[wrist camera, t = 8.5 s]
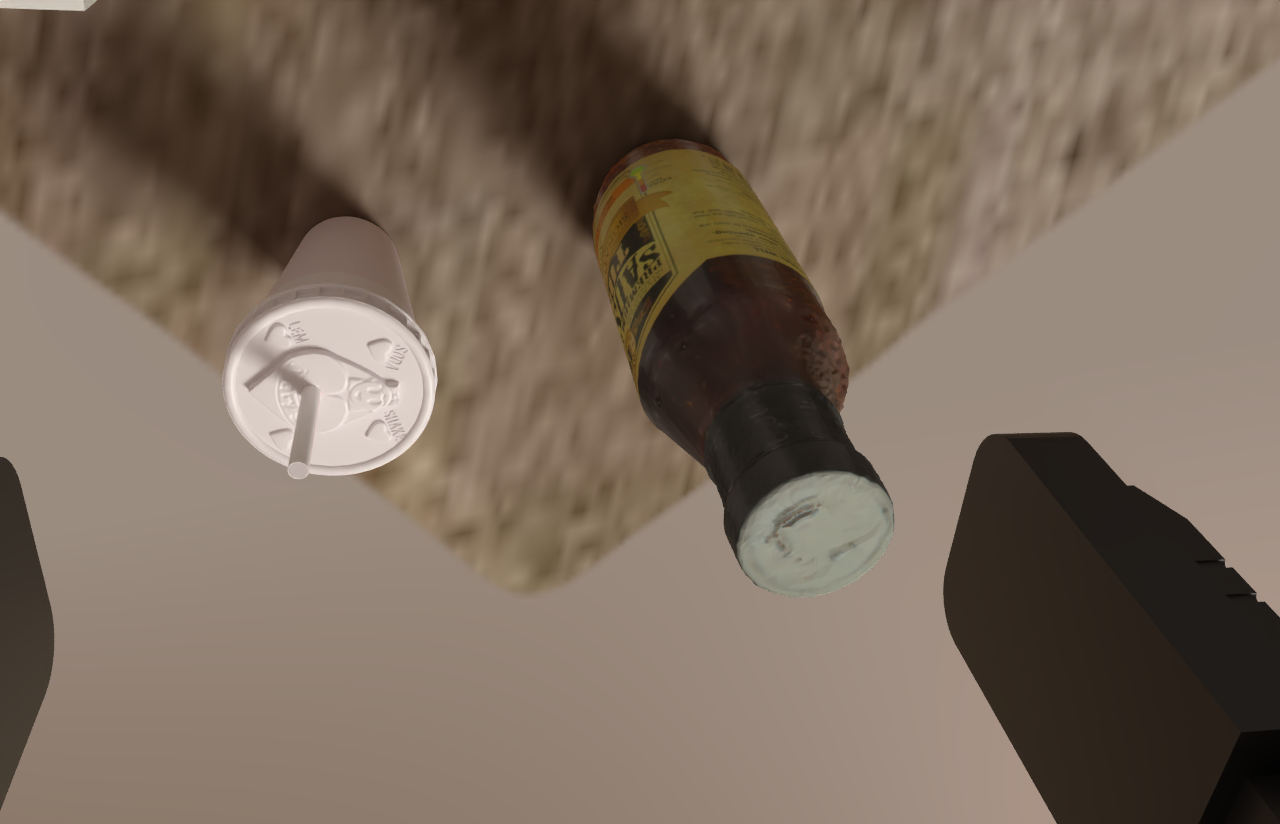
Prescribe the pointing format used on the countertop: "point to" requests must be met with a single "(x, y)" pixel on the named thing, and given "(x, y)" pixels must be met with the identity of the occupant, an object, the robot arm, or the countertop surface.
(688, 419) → the sauce bottle
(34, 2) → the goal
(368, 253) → the smoothie
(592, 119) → the countertop surface
